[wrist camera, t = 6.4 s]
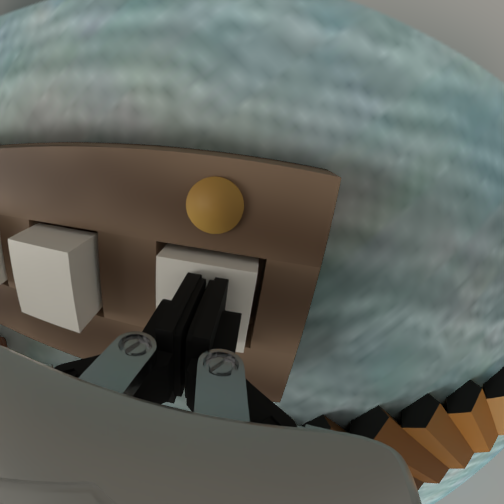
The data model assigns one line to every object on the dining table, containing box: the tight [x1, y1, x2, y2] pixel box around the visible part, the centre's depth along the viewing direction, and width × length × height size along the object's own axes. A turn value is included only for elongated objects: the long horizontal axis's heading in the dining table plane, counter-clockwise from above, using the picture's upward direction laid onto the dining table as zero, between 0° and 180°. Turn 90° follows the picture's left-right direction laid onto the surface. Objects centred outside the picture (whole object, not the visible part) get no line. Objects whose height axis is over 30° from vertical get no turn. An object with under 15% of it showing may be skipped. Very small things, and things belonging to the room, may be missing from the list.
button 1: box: [156, 243, 259, 353], centre depth 13 cm, size 4×4×2 cm
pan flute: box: [301, 367, 504, 490], centre depth 19 cm, size 25×3×25 cm
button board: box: [0, 142, 341, 402], centre depth 14 cm, size 12×24×3 cm, turn 82°
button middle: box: [8, 223, 103, 333], centre depth 12 cm, size 4×4×2 cm
